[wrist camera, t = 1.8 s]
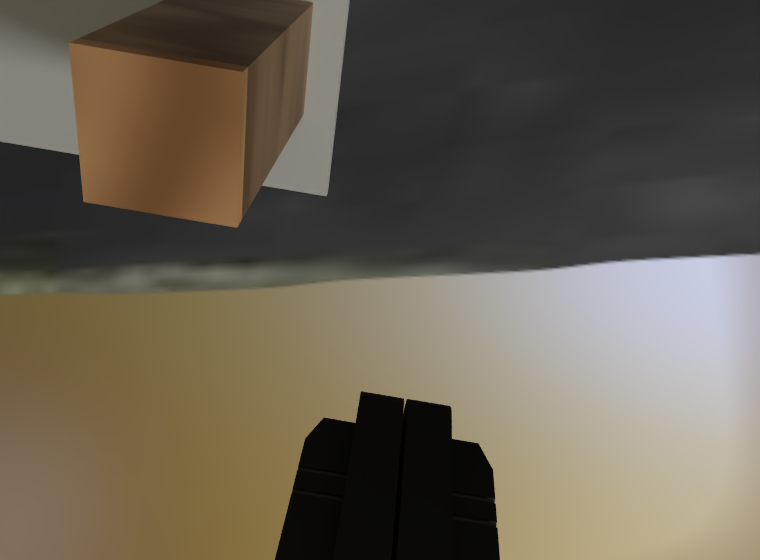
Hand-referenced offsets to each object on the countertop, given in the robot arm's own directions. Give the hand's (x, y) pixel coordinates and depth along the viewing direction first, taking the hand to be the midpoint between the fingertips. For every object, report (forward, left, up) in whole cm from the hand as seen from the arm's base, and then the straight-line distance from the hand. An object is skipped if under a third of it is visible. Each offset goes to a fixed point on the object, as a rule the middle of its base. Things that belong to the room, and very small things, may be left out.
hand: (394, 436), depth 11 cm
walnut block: (-8, 0, -23) cm, 24 cm away
